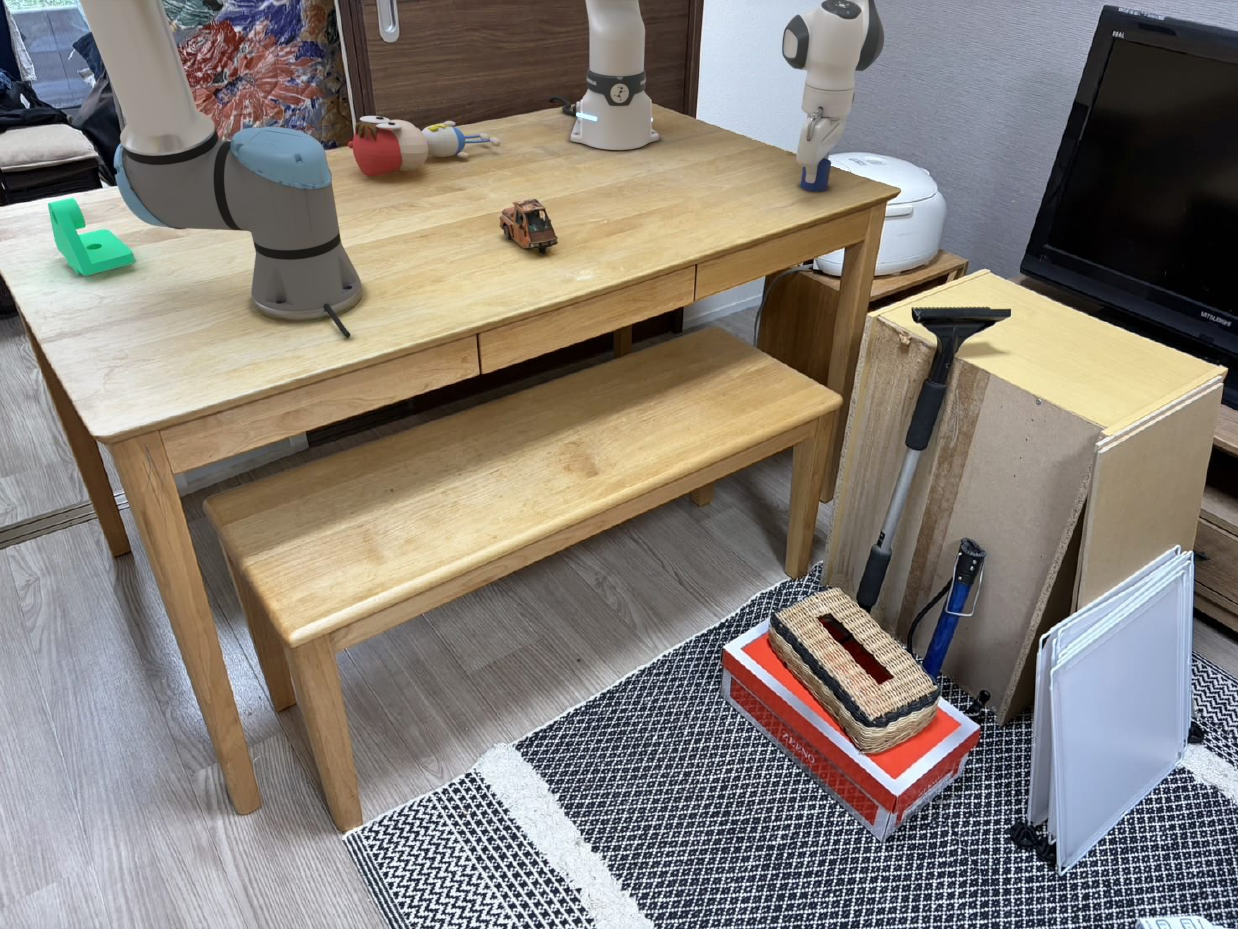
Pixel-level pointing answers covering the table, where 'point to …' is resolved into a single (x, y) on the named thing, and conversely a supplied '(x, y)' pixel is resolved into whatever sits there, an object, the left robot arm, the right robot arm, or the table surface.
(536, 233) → the toy car
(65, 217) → the camera mount
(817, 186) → the canister
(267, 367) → the table surface
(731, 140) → the table surface
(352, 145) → the toy
